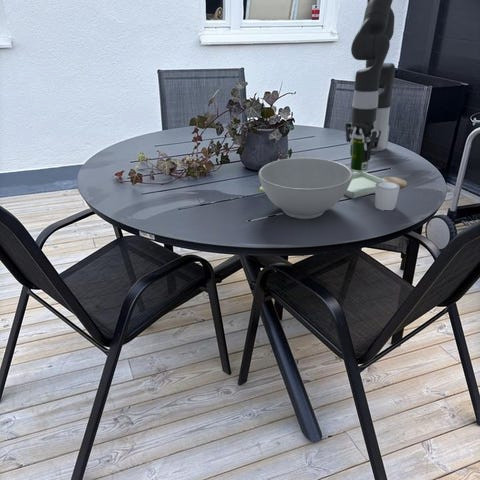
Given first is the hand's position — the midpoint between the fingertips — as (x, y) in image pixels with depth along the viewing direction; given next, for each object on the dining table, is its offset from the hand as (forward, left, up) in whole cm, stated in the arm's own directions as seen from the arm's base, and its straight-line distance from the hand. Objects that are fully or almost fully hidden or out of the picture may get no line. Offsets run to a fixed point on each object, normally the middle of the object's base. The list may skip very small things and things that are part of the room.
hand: (359, 158), depth 149 cm
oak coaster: (-12, +4, -10) cm, 16 cm away
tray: (0, 0, -10) cm, 10 cm away
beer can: (0, 0, -4) cm, 4 cm away
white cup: (+4, +17, -10) cm, 20 cm away
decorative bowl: (+26, +6, -10) cm, 29 cm away
